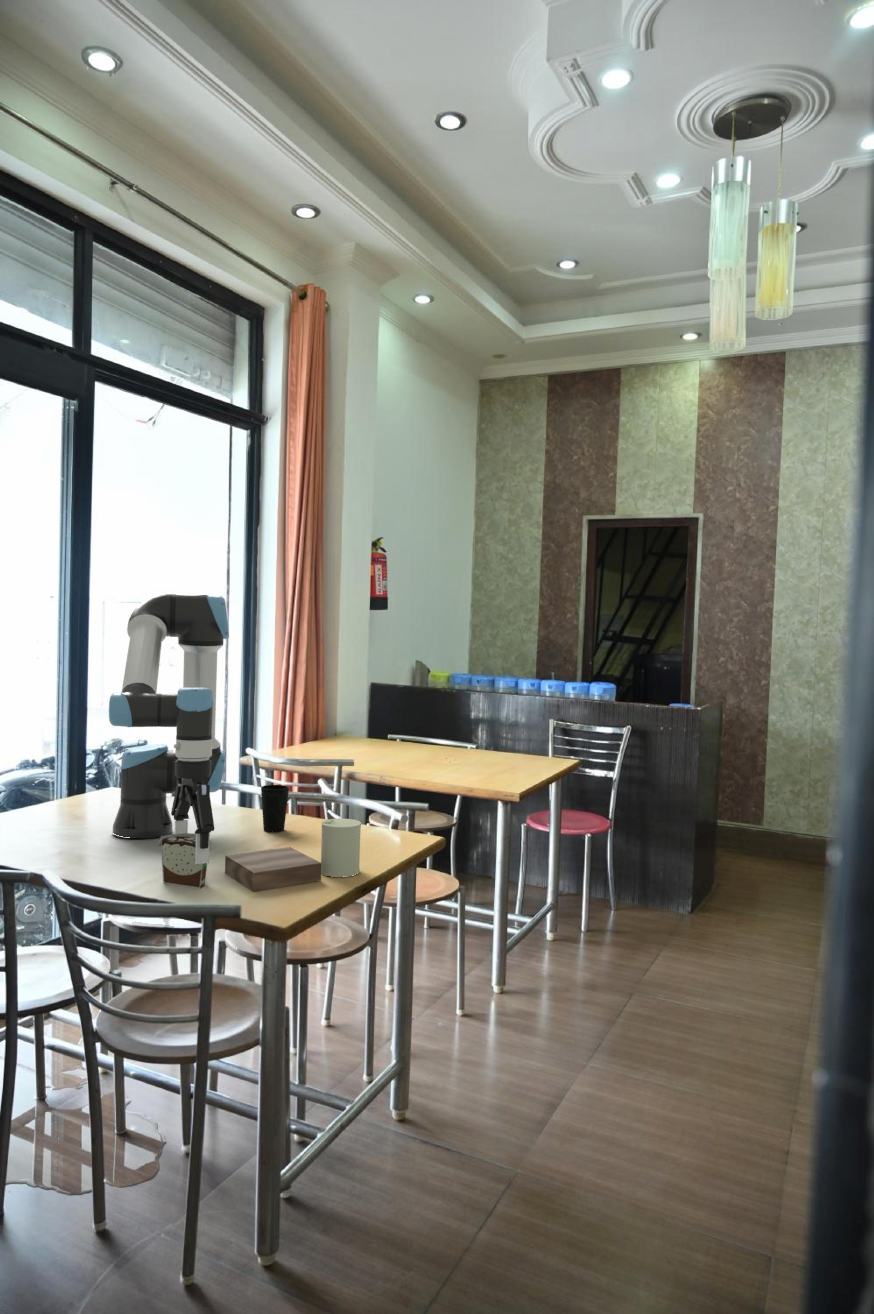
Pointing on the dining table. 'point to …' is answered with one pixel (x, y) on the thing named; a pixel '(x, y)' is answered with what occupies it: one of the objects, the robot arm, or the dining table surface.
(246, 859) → the walnut stand
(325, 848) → the can
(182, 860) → the food container
